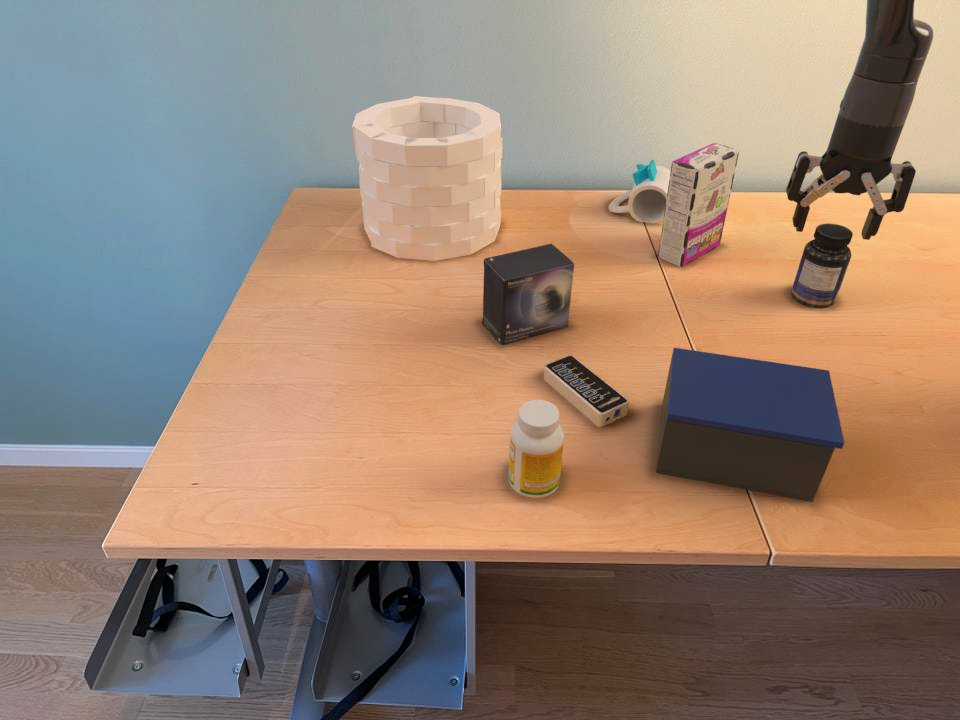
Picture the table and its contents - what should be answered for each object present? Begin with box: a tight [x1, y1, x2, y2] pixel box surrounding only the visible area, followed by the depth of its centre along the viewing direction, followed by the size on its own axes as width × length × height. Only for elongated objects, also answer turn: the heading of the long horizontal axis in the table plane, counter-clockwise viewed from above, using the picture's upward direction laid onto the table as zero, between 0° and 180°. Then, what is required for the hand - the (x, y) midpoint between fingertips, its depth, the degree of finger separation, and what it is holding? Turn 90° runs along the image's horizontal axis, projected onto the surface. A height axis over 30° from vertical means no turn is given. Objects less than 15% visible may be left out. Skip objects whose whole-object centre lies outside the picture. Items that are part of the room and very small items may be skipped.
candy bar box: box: [657, 142, 740, 268], centre depth 109 cm, size 11×5×16 cm, turn 132°
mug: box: [608, 159, 671, 225], centre depth 125 cm, size 12×9×12 cm
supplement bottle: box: [508, 399, 565, 499], centre depth 70 cm, size 5×5×10 cm
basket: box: [351, 95, 504, 262], centre depth 115 cm, size 25×24×19 cm
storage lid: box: [667, 347, 845, 450], centre depth 72 cm, size 16×12×1 cm
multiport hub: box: [543, 354, 630, 428], centre depth 83 cm, size 4×11×2 cm, turn 32°
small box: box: [481, 243, 575, 346], centre depth 93 cm, size 11×6×10 cm, turn 115°
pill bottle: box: [790, 222, 854, 309], centre depth 99 cm, size 6×6×11 cm
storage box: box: [655, 357, 836, 503], centre depth 74 cm, size 16×12×8 cm
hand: (831, 233), depth 95 cm, fingers open, 8 cm apart
